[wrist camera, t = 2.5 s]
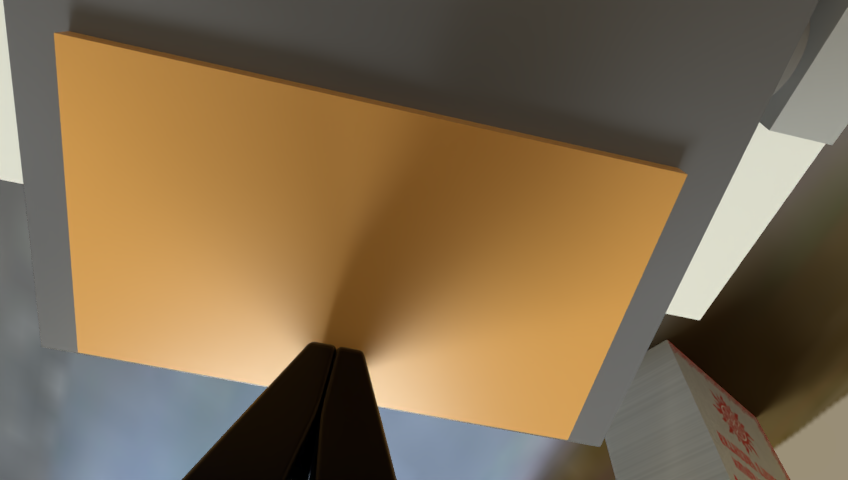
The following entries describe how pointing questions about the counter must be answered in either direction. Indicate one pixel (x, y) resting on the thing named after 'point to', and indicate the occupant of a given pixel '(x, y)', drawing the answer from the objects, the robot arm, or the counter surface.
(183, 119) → the rocker switch
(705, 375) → the printed cardboard box
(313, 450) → the robot arm
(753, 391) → the counter surface
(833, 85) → the breaker housing
